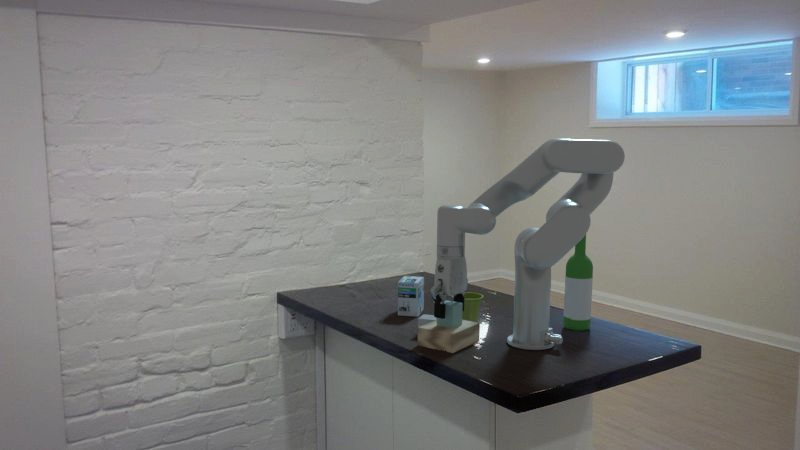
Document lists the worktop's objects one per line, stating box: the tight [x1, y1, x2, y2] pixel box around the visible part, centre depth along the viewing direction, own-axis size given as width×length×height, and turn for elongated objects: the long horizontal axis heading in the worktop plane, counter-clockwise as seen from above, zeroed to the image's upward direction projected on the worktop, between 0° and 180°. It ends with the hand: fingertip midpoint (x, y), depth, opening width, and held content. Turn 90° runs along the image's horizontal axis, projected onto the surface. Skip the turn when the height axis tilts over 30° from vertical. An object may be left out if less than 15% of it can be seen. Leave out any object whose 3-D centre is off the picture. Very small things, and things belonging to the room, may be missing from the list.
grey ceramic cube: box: [417, 313, 437, 328], centre depth 200 cm, size 5×5×5 cm
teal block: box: [437, 299, 463, 329], centre depth 191 cm, size 5×5×6 cm
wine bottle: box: [562, 234, 594, 332], centre depth 206 cm, size 8×8×30 cm
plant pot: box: [451, 291, 484, 323], centre depth 211 cm, size 9×9×9 cm
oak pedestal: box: [417, 320, 481, 354], centre depth 191 cm, size 11×14×5 cm
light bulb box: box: [397, 275, 425, 318], centre depth 223 cm, size 11×7×11 cm, turn 168°
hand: (449, 314), depth 191 cm, fingers open, 9 cm apart
